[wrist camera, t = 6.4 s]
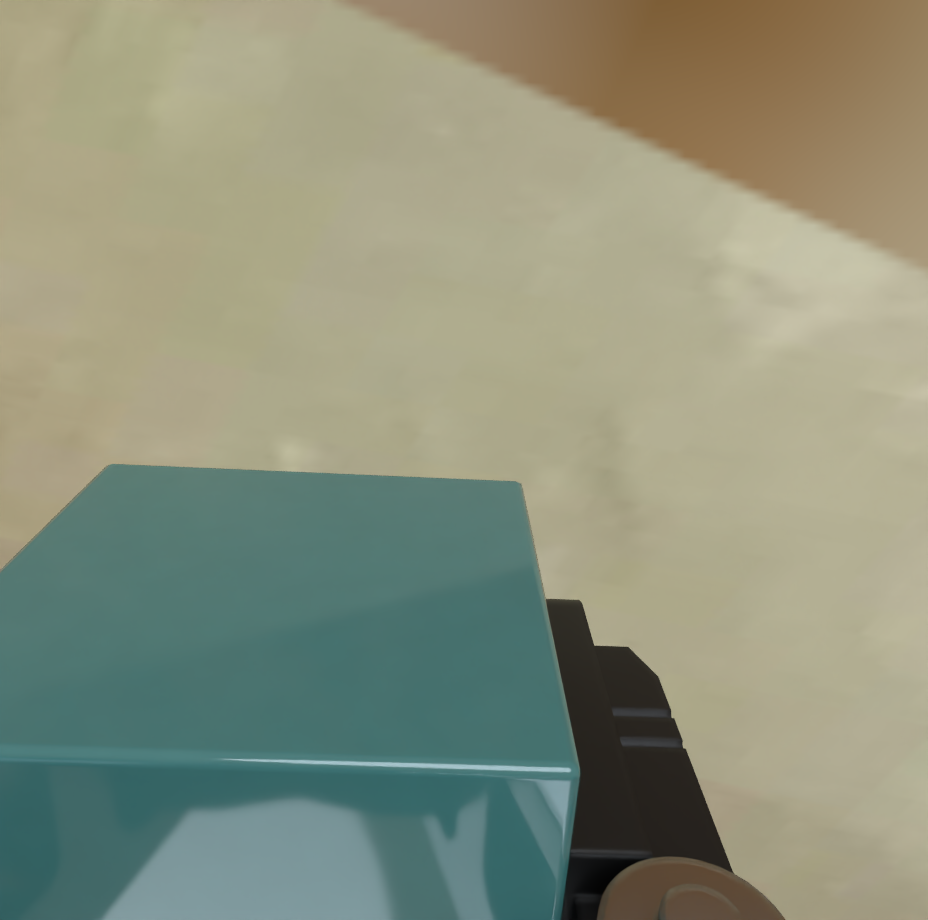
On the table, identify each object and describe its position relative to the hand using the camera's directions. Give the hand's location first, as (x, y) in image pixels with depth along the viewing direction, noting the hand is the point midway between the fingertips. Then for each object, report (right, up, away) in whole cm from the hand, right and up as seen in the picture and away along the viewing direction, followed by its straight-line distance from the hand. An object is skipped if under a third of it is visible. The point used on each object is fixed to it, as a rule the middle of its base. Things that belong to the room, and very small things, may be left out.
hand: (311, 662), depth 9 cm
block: (0, 0, 0) cm, 0 cm away
